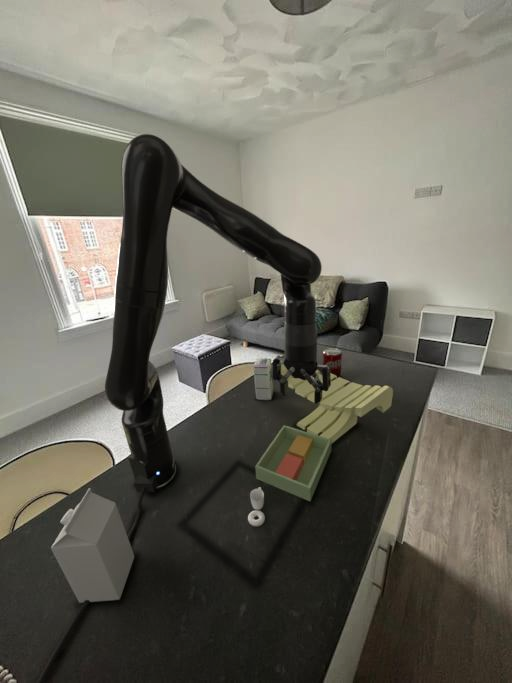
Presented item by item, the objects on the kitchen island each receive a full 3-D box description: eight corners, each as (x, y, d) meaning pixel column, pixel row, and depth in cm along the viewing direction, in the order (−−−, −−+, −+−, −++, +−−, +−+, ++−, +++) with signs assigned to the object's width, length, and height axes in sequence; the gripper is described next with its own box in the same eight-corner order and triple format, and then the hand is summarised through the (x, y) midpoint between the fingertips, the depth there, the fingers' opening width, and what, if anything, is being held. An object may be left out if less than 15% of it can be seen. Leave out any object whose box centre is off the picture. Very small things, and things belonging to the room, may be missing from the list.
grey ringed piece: (261, 535, 58) (260, 521, 56) (231, 515, 62) (230, 502, 61) (282, 502, 64) (281, 489, 63) (254, 487, 69) (253, 474, 67)
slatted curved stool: (387, 435, 82) (394, 382, 75) (356, 464, 72) (362, 407, 66) (308, 395, 103) (308, 352, 97) (277, 414, 94) (275, 367, 88)
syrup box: (271, 400, 102) (269, 365, 97) (255, 399, 103) (252, 364, 98) (273, 392, 107) (271, 358, 102) (258, 391, 108) (256, 357, 103)
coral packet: (292, 489, 66) (291, 479, 65) (275, 482, 68) (275, 472, 67) (302, 468, 72) (302, 458, 71) (286, 462, 74) (286, 453, 73)
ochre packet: (303, 465, 73) (303, 456, 71) (288, 459, 75) (288, 450, 74) (312, 448, 78) (312, 439, 77) (298, 443, 80) (298, 434, 79)
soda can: (319, 375, 117) (319, 349, 112) (334, 372, 119) (335, 346, 114) (328, 383, 110) (329, 356, 106) (344, 380, 112) (345, 353, 108)
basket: (310, 503, 63) (310, 488, 62) (256, 479, 70) (255, 466, 68) (331, 452, 77) (331, 439, 75) (284, 437, 84) (283, 425, 82)
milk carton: (135, 556, 55) (110, 486, 48) (119, 600, 48) (88, 527, 41) (99, 559, 55) (69, 489, 48) (79, 604, 48) (40, 530, 41)
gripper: (265, 340, 65) (269, 399, 71) (326, 349, 58) (324, 413, 64) (279, 330, 71) (281, 385, 77) (335, 337, 64) (332, 397, 70)
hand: (300, 398), depth 70 cm, fingers open, 8 cm apart
